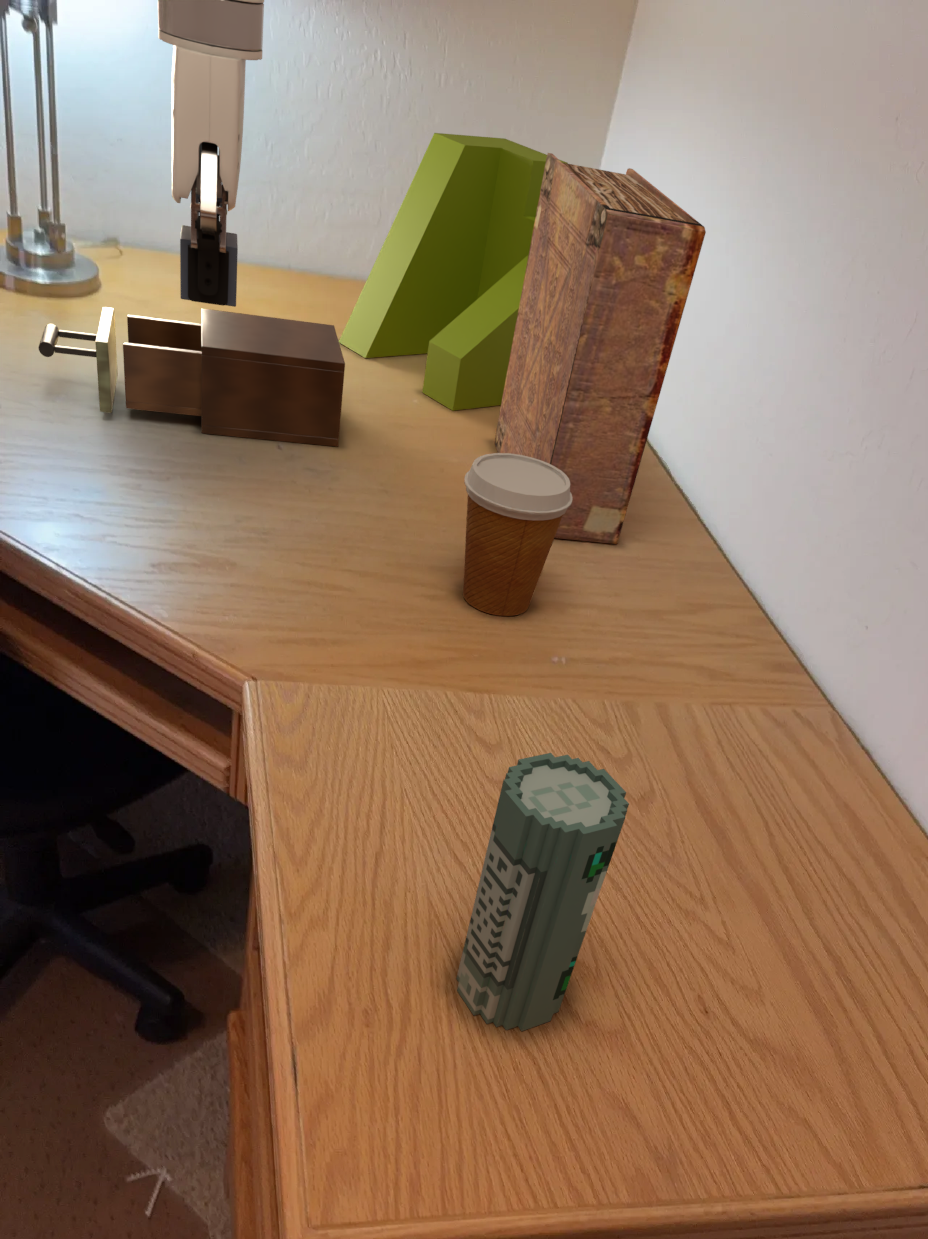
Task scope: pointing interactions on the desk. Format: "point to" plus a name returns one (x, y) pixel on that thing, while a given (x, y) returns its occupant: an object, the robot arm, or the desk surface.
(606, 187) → the book
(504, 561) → the disposable coffee cup
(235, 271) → the block
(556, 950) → the can
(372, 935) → the desk surface
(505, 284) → the book holder
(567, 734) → the desk surface
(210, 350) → the cabinet
